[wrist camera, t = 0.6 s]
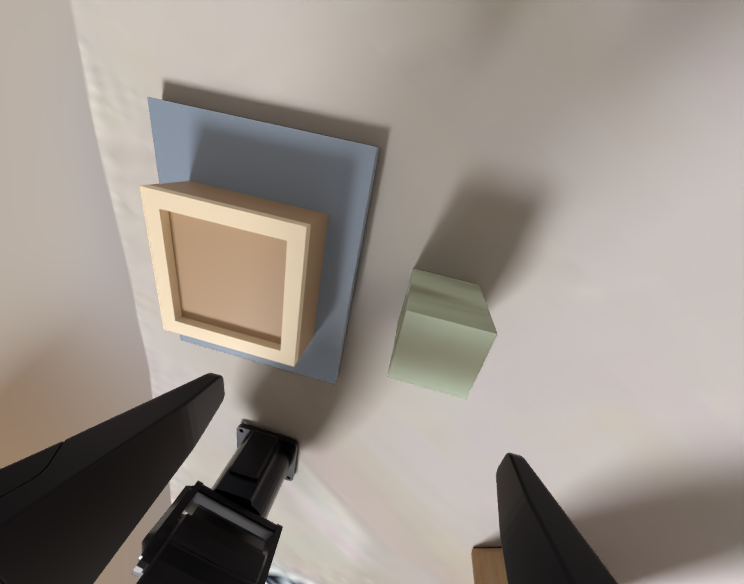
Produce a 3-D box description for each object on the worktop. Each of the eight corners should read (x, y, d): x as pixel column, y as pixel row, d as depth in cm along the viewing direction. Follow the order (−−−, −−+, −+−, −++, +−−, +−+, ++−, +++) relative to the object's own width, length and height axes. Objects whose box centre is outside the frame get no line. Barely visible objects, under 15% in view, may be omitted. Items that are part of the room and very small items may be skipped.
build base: (337, 376, 25) (319, 419, 21) (189, 333, 26) (144, 367, 22) (379, 147, 17) (363, 144, 13) (161, 99, 18) (81, 83, 14)
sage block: (457, 338, 21) (465, 399, 16) (398, 322, 22) (387, 377, 16) (479, 284, 19) (497, 334, 14) (413, 268, 20) (406, 310, 14)
